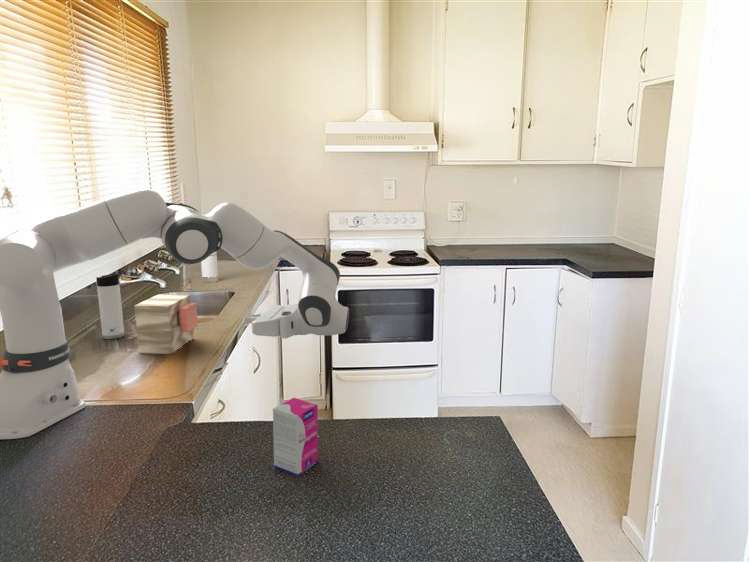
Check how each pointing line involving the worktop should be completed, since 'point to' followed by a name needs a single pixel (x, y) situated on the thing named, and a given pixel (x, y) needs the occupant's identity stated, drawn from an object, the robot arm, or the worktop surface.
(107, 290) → the travel mug
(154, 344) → the block
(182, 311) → the pink-tipped peg
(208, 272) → the cylindrical container
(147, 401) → the worktop surface
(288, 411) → the supplement box
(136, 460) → the worktop surface
